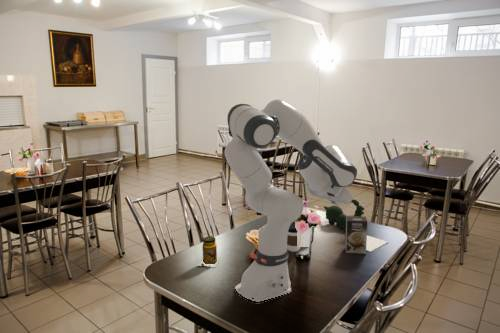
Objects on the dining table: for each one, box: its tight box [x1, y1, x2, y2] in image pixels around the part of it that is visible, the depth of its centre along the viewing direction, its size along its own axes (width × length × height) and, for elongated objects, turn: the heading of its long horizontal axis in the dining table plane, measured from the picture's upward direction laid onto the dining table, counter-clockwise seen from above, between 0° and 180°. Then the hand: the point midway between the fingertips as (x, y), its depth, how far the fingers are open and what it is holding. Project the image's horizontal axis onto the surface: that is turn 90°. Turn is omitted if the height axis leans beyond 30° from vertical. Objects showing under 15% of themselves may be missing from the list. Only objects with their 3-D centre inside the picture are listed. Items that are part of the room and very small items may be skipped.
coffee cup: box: [287, 221, 298, 253], centre depth 175 cm, size 11×11×12 cm
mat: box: [366, 234, 389, 253], centre depth 182 cm, size 16×13×1 cm
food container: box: [311, 225, 317, 243], centre depth 186 cm, size 12×6×10 cm, turn 179°
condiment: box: [202, 235, 218, 264], centre depth 161 cm, size 7×8×12 cm
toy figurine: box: [323, 199, 365, 232], centre depth 201 cm, size 9×19×25 cm
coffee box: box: [344, 215, 368, 255], centre depth 172 cm, size 9×6×16 cm
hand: (335, 202), depth 157 cm, fingers closed
